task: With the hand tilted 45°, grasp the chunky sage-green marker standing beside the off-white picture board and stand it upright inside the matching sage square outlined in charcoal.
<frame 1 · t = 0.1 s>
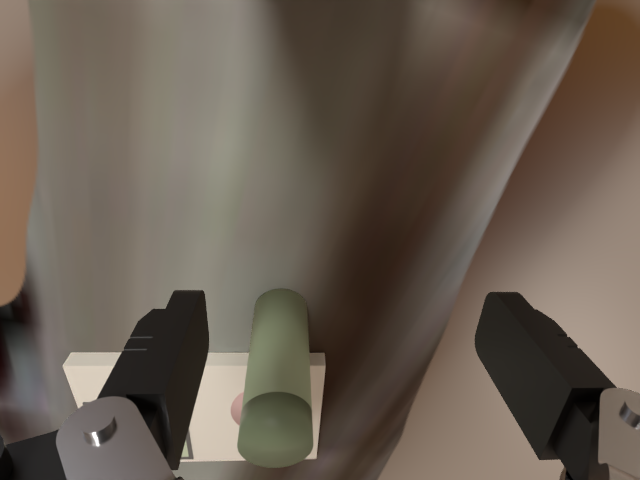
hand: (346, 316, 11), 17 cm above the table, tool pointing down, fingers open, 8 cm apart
picture board: (207, 404, 39), on the table
marker: (281, 309, 33), on the table
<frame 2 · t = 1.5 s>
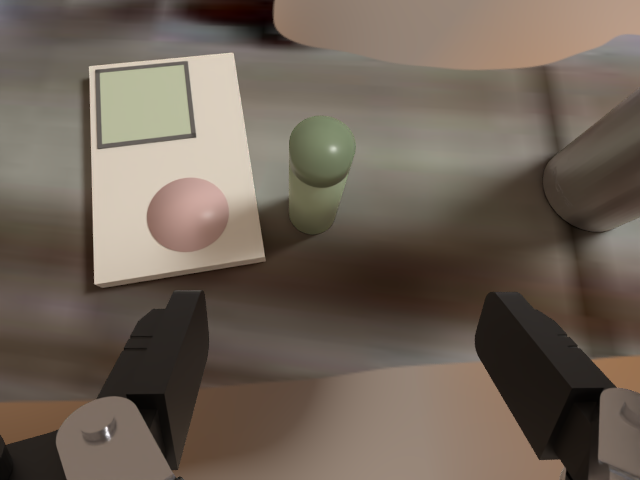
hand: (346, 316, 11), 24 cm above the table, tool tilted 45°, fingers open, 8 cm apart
picture board: (175, 163, 38), on the table
marker: (312, 212, 38), on the table
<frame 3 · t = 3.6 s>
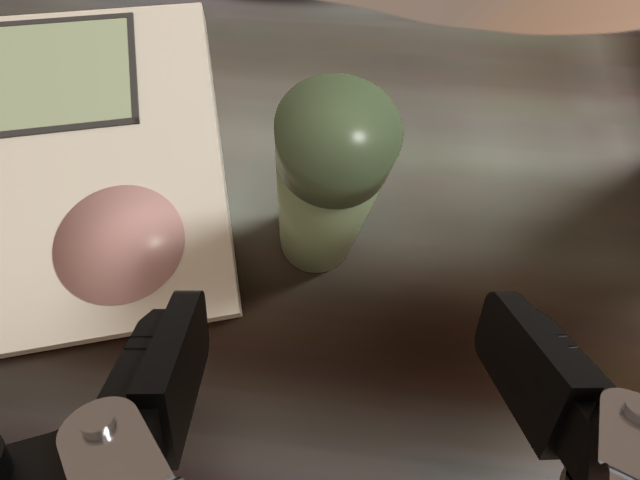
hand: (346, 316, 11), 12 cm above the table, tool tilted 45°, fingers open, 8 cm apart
picture board: (110, 163, 25), on the table
marker: (315, 238, 25), on the table
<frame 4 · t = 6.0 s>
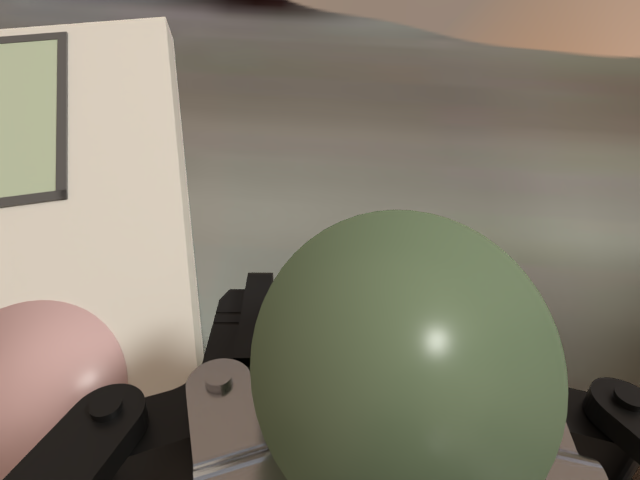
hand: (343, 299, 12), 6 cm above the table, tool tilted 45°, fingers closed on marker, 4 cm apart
picture board: (26, 254, 17), on the table
marker: (327, 367, 17), on the table, touching gripper
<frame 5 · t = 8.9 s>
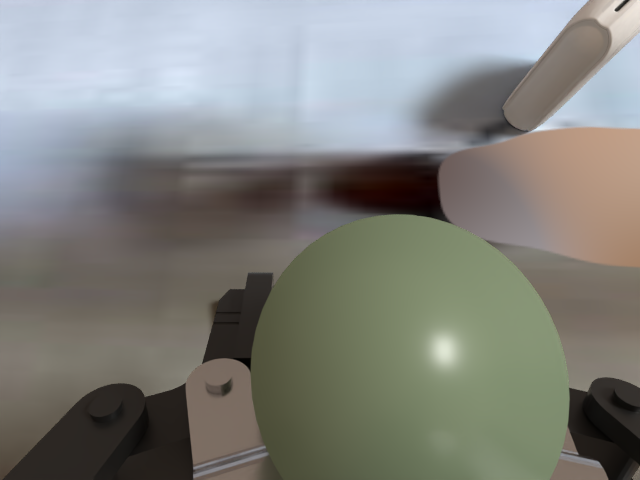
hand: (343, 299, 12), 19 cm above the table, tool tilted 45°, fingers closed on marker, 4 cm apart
marker: (327, 369, 17), point 14 cm above the table, touching gripper
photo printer: (539, 98, 40), on the table
when the fingers open (9 cm above the table, at t = 11.9 s): marker drops 1 cm, resting on picture board.
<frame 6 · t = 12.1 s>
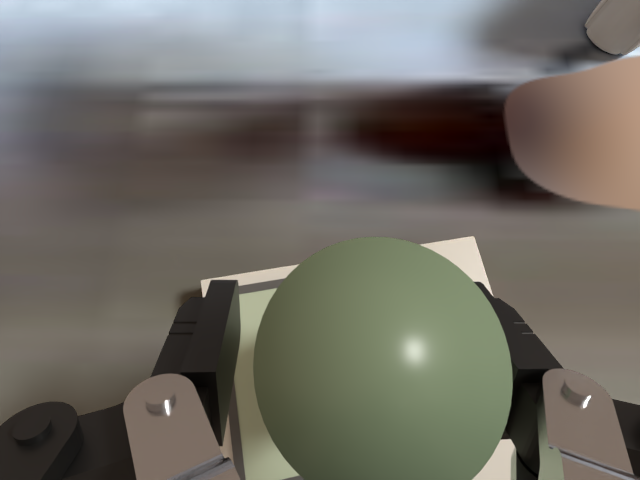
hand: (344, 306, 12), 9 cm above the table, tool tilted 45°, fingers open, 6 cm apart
marker: (325, 371, 18), point 2 cm above the table, touching picture board
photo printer: (629, 15, 29), on the table
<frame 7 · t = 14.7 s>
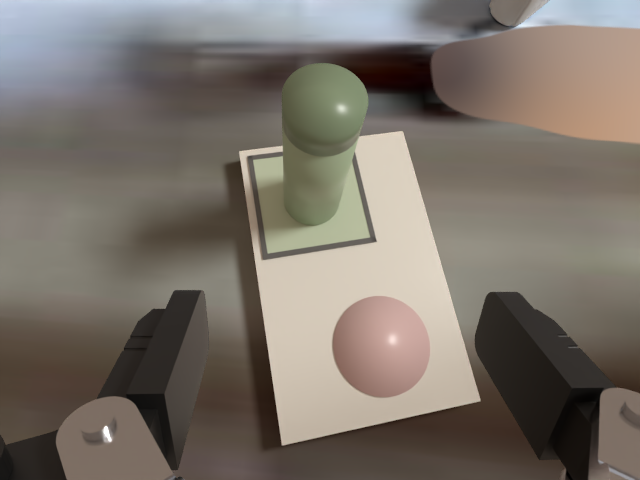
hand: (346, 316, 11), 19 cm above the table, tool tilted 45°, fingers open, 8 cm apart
picture board: (347, 271, 32), on the table
marker: (311, 199, 32), point 2 cm above the table, touching picture board
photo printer: (523, 0, 43), on the table
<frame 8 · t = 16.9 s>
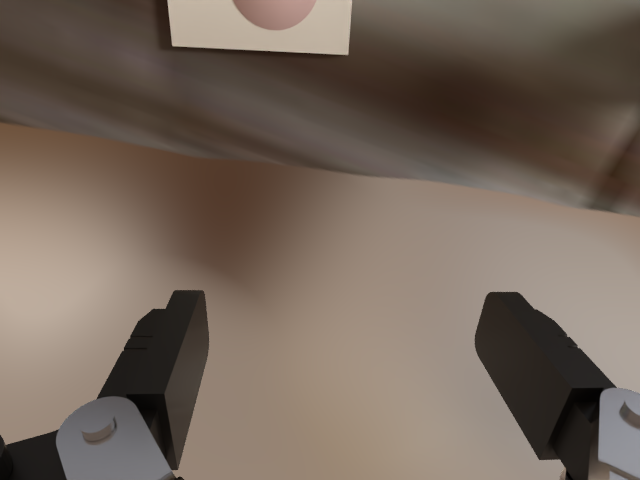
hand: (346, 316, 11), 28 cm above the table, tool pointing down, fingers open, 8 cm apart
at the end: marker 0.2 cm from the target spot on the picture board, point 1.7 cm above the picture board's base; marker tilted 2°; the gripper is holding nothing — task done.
